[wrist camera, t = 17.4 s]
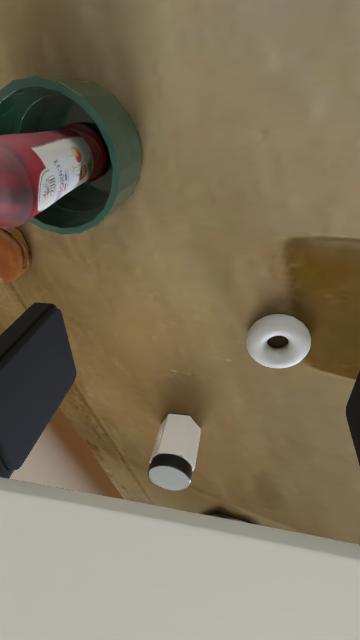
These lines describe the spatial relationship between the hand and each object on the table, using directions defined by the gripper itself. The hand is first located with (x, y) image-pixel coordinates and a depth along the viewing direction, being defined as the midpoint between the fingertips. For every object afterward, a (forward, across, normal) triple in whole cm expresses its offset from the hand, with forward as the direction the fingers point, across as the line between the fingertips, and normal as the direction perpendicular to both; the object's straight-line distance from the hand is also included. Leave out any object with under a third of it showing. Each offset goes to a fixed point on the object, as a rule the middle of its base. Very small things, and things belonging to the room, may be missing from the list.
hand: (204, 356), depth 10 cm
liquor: (+38, +20, 0) cm, 43 cm away
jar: (+38, +8, +53) cm, 66 cm away
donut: (+38, -8, +26) cm, 47 cm away
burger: (+38, +37, +14) cm, 55 cm away
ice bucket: (+38, +21, 0) cm, 43 cm away
